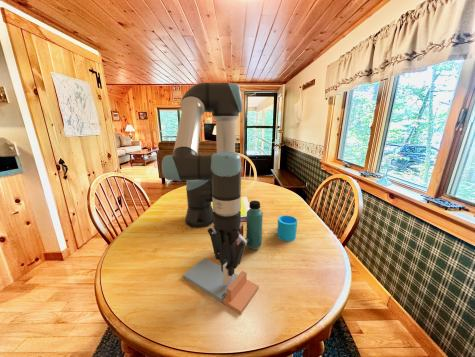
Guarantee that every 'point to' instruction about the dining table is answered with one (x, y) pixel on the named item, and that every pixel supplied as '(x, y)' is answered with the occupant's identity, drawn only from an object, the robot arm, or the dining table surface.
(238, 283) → the stub
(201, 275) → the ticket
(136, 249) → the dining table surface
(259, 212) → the beverage bottle
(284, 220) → the mug
